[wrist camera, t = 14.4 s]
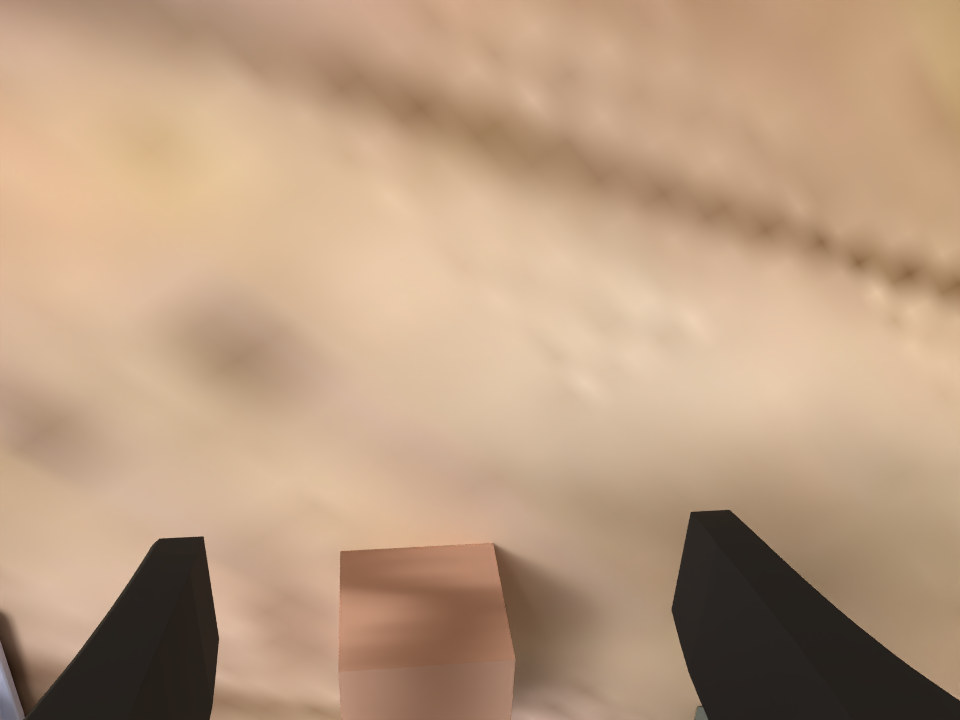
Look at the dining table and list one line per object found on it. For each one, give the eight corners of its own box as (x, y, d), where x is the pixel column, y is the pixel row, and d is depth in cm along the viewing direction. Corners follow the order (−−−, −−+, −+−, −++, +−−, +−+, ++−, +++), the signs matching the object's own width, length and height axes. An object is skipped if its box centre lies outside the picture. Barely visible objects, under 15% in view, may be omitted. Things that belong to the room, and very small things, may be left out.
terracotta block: (346, 656, 29) (345, 783, 25) (340, 549, 27) (338, 672, 23) (486, 646, 30) (506, 770, 26) (492, 541, 27) (515, 659, 24)
